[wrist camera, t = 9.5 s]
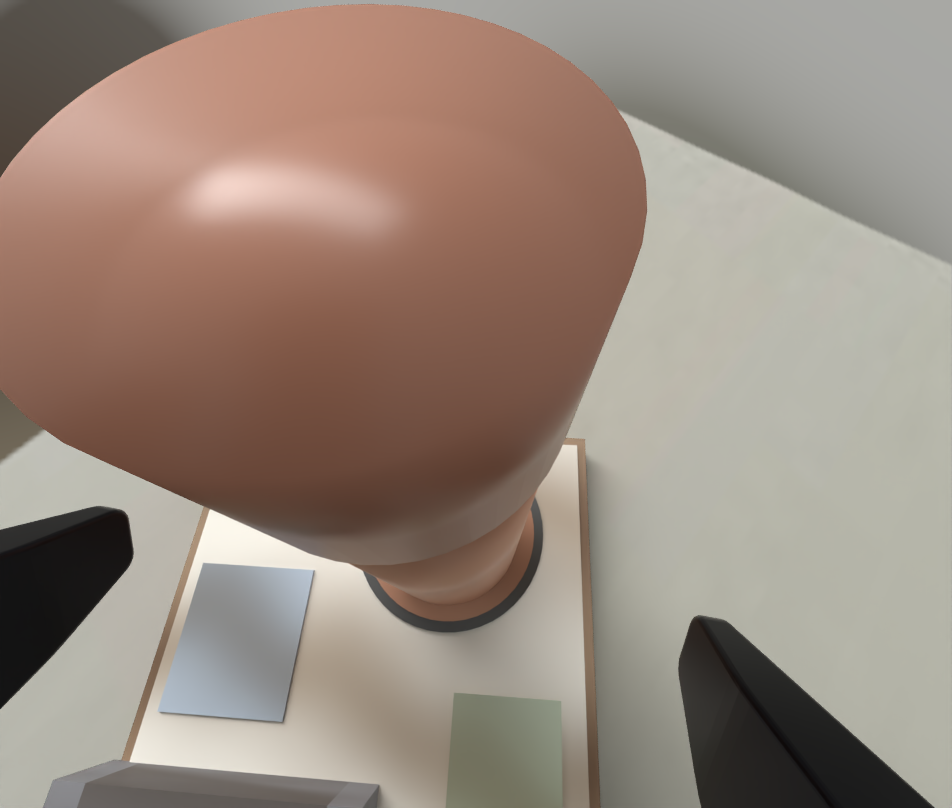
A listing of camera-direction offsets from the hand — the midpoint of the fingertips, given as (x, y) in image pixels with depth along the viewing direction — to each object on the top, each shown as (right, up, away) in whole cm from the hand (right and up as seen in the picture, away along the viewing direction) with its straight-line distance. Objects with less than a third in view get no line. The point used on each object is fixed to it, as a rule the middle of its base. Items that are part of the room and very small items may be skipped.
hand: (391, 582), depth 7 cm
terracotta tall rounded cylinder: (0, -1, +8) cm, 8 cm away
